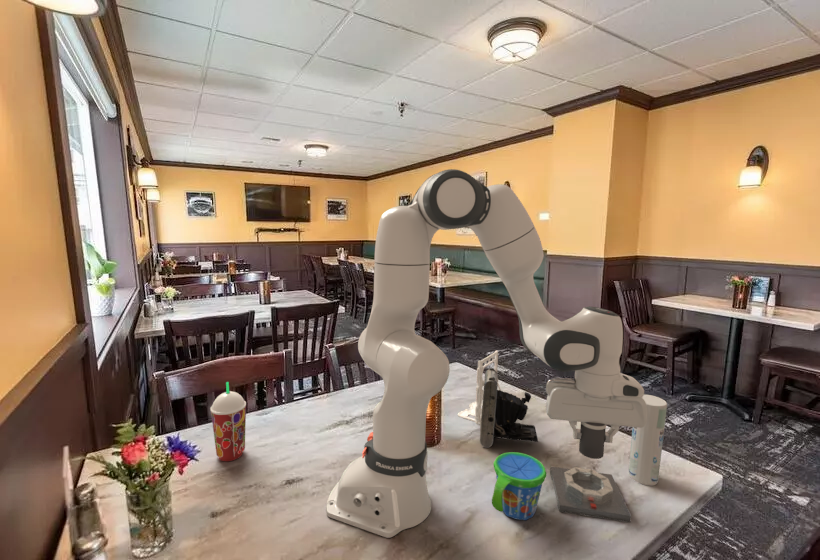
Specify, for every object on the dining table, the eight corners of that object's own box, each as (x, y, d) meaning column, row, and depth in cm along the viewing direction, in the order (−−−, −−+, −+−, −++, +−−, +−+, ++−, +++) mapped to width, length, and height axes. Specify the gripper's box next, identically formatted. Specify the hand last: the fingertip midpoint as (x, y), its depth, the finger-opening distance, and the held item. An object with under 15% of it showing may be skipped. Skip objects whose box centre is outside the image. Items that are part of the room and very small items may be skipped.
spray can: (658, 489, 92) (667, 408, 89) (627, 480, 95) (634, 401, 93) (658, 474, 97) (666, 398, 95) (628, 466, 101) (635, 392, 98)
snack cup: (521, 482, 94) (523, 442, 92) (560, 509, 85) (563, 465, 84) (473, 509, 85) (475, 465, 83) (511, 541, 76) (514, 493, 75)
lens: (581, 457, 87) (583, 423, 85) (576, 444, 92) (578, 412, 90) (606, 460, 86) (609, 425, 84) (600, 447, 91) (602, 414, 89)
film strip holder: (474, 400, 137) (476, 345, 135) (512, 412, 129) (515, 353, 127) (454, 416, 126) (455, 356, 123) (494, 430, 118) (497, 366, 115)
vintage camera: (537, 456, 105) (544, 385, 103) (478, 447, 108) (484, 378, 106) (533, 438, 115) (539, 372, 112) (479, 430, 118) (484, 366, 115)
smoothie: (253, 455, 103) (250, 382, 100) (221, 469, 97) (216, 392, 94) (239, 443, 109) (236, 373, 106) (208, 455, 103) (203, 382, 100)
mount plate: (559, 511, 84) (560, 496, 84) (550, 471, 98) (551, 458, 97) (630, 522, 82) (631, 507, 81) (611, 480, 95) (612, 466, 95)
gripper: (548, 382, 85) (545, 441, 87) (653, 390, 81) (647, 453, 83) (544, 371, 91) (541, 427, 93) (641, 379, 87) (636, 437, 89)
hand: (592, 439), depth 88 cm, fingers closed on lens, 5 cm apart
